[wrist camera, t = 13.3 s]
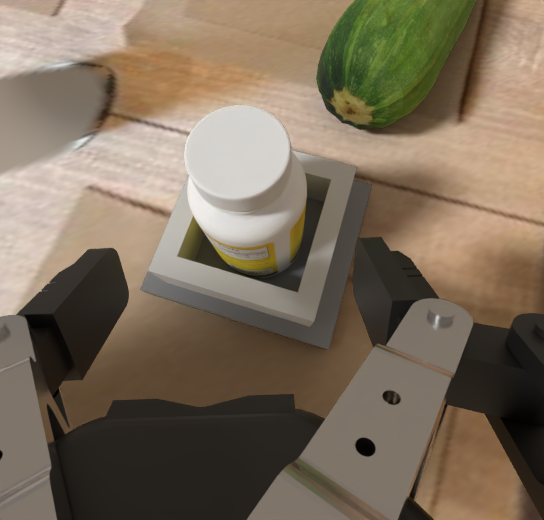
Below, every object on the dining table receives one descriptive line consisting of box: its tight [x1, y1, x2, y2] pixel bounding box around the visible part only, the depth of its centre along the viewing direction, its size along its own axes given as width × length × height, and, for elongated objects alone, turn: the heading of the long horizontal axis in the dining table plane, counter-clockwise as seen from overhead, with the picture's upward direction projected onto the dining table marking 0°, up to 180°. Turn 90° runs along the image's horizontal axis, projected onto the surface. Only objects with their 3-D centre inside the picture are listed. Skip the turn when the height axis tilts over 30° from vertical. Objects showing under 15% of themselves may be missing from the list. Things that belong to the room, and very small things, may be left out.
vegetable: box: [316, 0, 477, 129], centre depth 24 cm, size 7×7×20 cm
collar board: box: [140, 150, 372, 350], centre depth 21 cm, size 12×11×4 cm
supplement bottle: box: [184, 105, 307, 278], centre depth 17 cm, size 5×5×10 cm
